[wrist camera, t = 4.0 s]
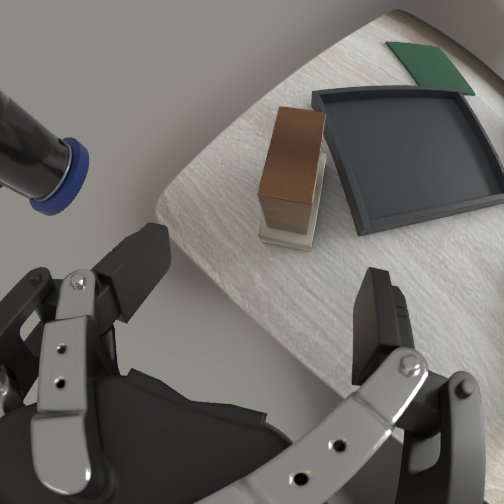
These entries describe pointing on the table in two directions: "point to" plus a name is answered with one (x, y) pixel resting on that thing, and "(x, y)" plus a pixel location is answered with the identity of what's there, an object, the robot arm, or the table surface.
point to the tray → (408, 154)
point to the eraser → (292, 179)
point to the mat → (430, 66)
